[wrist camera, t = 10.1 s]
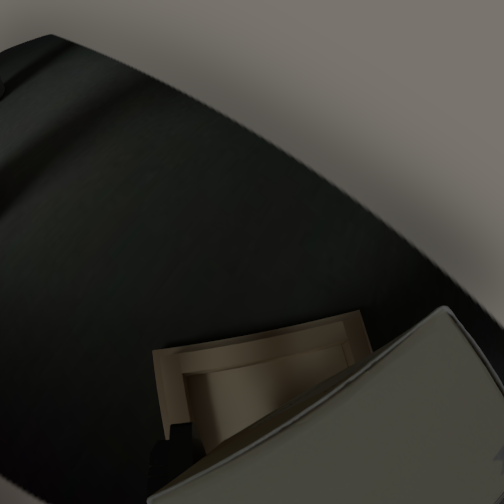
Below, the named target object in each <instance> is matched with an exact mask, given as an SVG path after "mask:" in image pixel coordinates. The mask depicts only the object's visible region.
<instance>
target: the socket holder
mask: <svg viewBox="0 0 504 504" xmlns="http://www.w3.org/2000/svg"><path fill="white" fill-rule="evenodd" d="M152 352H153V361H154V368H155V376H156V383H157V390H158V397H159V403H160V409H161V415H162V421H163V427H164V432H165V437H166V440H169V434H170V425H171V424H177V423H186V422H194V423H195V425H196V428H197V431H198V433H199V436H200V439H201V441H202V444H203V446H204V449H205V452H206V455H207V454H208V453H209V452H211V451H212V450H213V449H214V448H216V447H217V446H218V445H219V444H220V443H221V442H222V441H224V440H225V439H227V438H229V437H231V436H233V435H234V434H236V433H238V432H239V431H241V430H243V429H244V428H246V427H248V426H249V425H251V424H252V423H254V422H256V421H257V420H259V419H260V418H262V417H264V416H265V415H267V414H269V413H270V412H272V411H274V410H275V409H277V408H279V407H280V406H282V405H284V404H285V403H287V402H288V401H290V400H292V399H293V398H295V397H297V396H298V395H300V394H302V393H303V392H305V391H307V390H308V389H310V388H311V387H313V386H315V385H316V384H318V383H320V382H321V381H323V380H325V379H327V378H329V377H331V376H333V375H335V374H337V373H339V372H340V371H342V370H344V369H346V368H348V367H349V366H351V365H353V364H355V363H356V362H358V361H360V360H361V359H363V358H365V357H367V356H368V355H370V354H372V353H373V351H372V348H371V344H370V341H369V338H368V335H367V332H366V328H365V325H364V322H363V319H362V316H361V313H360V310H357V311H353V312H349V313H345V314H341V315H337V316H333V317H329V318H325V319H320V320H316V321H312V322H308V323H303V324H299V325H294V326H290V327H285V328H280V329H275V330H271V331H266V332H261V333H256V334H250V335H245V336H240V337H235V338H229V339H223V340H218V341H212V342H206V343H200V344H193V345H187V346H181V347H174V348H167V349H160V350H152Z"/></svg>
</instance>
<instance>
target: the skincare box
mask: <svg viewBox="0 0 504 504" xmlns="http://www.w3.org/2000/svg"><path fill="white" fill-rule="evenodd" d="M503 498H504V386H503V384H502V382H501V380H500V379H499V377H498V375H497V374H496V372H495V370H494V369H493V367H492V366H491V364H490V363H489V361H488V360H487V358H486V356H485V355H484V353H483V352H482V350H481V349H480V348H479V346H478V345H477V343H476V342H475V340H474V339H473V338H472V336H471V335H470V334H469V333H468V332H467V331H466V330H465V328H464V326H463V325H462V324H461V323H460V322H459V320H458V319H457V317H456V316H455V314H454V313H453V312H452V310H451V309H450V308H449V307H448V306H440V307H438V308H436V309H435V310H434V311H433V312H431V313H430V314H429V315H428V316H426V317H425V318H424V319H423V320H421V321H420V322H418V323H417V324H416V325H414V326H413V327H411V328H410V329H409V330H407V331H406V332H404V333H403V334H401V335H400V336H398V337H397V338H395V339H394V340H392V341H391V342H389V343H388V344H386V345H384V346H383V347H381V348H380V349H378V350H376V351H375V352H373V353H372V354H370V355H368V356H367V357H365V358H363V359H361V360H360V361H358V362H356V363H355V364H353V365H351V366H349V367H348V368H346V369H344V370H342V371H340V372H339V373H337V374H335V375H333V376H331V377H329V378H327V379H325V380H323V381H321V382H320V383H318V384H316V385H315V386H313V387H311V388H310V389H308V390H307V391H305V392H303V393H302V394H300V395H298V396H297V397H295V398H293V399H292V400H290V401H288V402H287V403H285V404H284V405H282V406H280V407H279V408H277V409H275V410H274V411H272V412H270V413H269V414H267V415H265V416H264V417H262V418H260V419H259V420H257V421H256V422H254V423H252V424H251V425H249V426H248V427H246V428H244V429H243V430H241V431H239V432H238V433H236V434H234V435H233V436H231V437H229V438H227V439H225V440H224V441H222V442H221V443H220V444H219V445H218V446H217V447H216V448H214V449H213V450H212V451H211V452H209V453H208V454H207V455H206V456H204V457H203V458H202V459H200V460H199V461H198V462H197V463H195V464H194V465H193V466H191V467H190V468H189V469H188V470H186V471H185V472H183V473H182V474H181V475H179V476H178V477H177V478H175V479H174V480H172V481H171V482H170V483H168V484H167V485H166V486H164V487H163V488H161V489H160V490H158V491H157V492H155V493H154V494H152V495H151V496H150V497H148V498H147V504H499V503H500V501H501V500H502V499H503Z"/></svg>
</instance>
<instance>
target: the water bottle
mask: <svg viewBox="0 0 504 504" xmlns="http://www.w3.org/2000/svg"><path fill="white" fill-rule="evenodd" d="M4 92H5V87H4V85H3V82H2V80H1V78H0V99H1V97H2V96H3V94H4Z"/></svg>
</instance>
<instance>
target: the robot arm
mask: <svg viewBox="0 0 504 504" xmlns="http://www.w3.org/2000/svg"><path fill="white" fill-rule="evenodd" d="M204 456H206V452H205V449H204V446H203V444H202V441H201V439H200V436H199V433H198V431H197V428H196V425H195V423H194V422H186V423H177V424H171V425H170V434H169V440H160V441H157V443H156V445H155V446H154V448H153V449H152V451H151V453H150V463H149V466H150V468H149V473H148V477H149V479H148V485H147V497H146V504H147V498H148V497H150V496H151V495H152V494H154V493H155V492H157V491H158V490H160V489H161V488H163V487H164V486H166V485H167V484H168V483H170V482H171V481H172V480H174V479H175V478H177V477H178V476H179V475H181V474H182V473H183V472H185V471H186V470H188V469H189V468H190V467H191V466H193V465H194V464H195V463H197V462H198V461H199V460H200V459H202V458H203V457H204ZM499 504H504V498H503V499H502V500H501V501H500V503H499Z"/></svg>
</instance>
